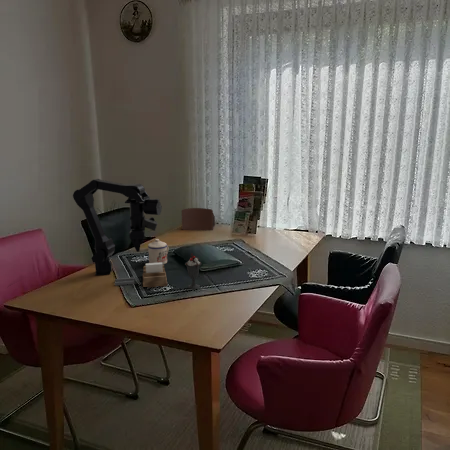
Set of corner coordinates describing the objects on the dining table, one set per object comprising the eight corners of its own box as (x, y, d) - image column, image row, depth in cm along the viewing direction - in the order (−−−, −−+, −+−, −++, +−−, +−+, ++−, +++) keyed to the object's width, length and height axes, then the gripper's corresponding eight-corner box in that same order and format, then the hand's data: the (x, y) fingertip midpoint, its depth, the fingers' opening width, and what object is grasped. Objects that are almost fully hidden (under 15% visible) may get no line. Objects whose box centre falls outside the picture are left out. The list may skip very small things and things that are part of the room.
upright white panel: (146, 279, 181) (145, 265, 179) (146, 277, 183) (145, 263, 182) (163, 278, 182) (162, 264, 181) (162, 276, 185) (162, 262, 183)
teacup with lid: (159, 266, 200) (157, 243, 197) (144, 263, 205) (143, 240, 202) (175, 259, 210) (174, 237, 207) (161, 257, 215) (160, 234, 212)
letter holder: (213, 230, 266) (212, 208, 263) (181, 230, 268) (181, 208, 265) (215, 226, 276) (214, 205, 273) (184, 226, 278) (184, 205, 275)
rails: (114, 285, 178) (114, 282, 177) (115, 281, 182) (115, 279, 182) (134, 284, 179) (134, 281, 179) (134, 280, 184) (134, 277, 183)
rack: (143, 287, 175) (142, 278, 174) (142, 275, 189) (142, 266, 188) (167, 285, 177) (167, 276, 176) (165, 273, 191) (165, 264, 190)
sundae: (189, 291, 171) (188, 255, 167) (183, 285, 177) (181, 251, 173) (204, 288, 174) (203, 252, 170) (197, 282, 180) (196, 248, 176)
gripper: (156, 218, 175) (157, 254, 179) (155, 208, 193) (156, 241, 197) (128, 218, 173) (130, 255, 177) (130, 209, 191) (131, 242, 195)
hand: (138, 248), depth 186 cm, fingers open, 9 cm apart
